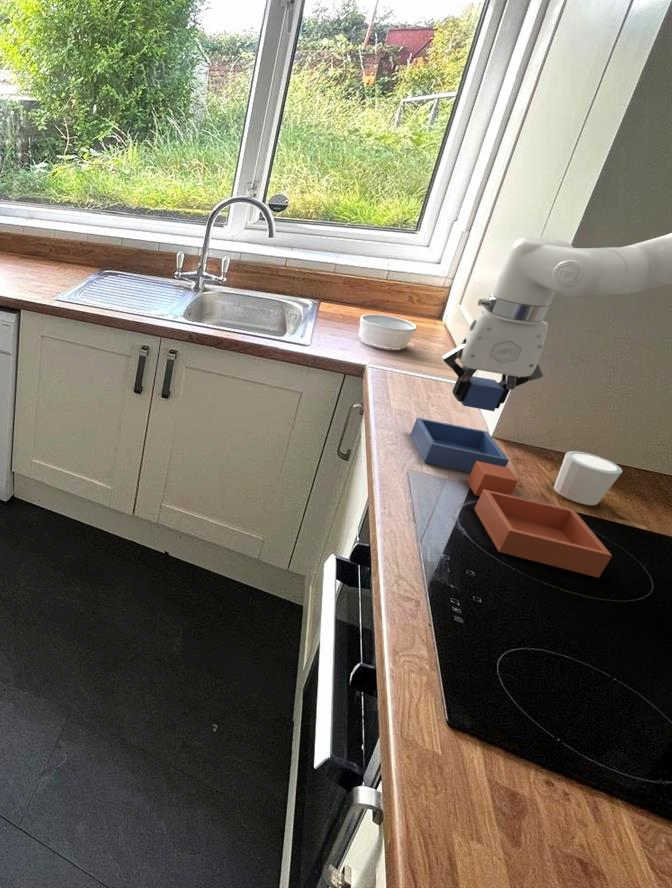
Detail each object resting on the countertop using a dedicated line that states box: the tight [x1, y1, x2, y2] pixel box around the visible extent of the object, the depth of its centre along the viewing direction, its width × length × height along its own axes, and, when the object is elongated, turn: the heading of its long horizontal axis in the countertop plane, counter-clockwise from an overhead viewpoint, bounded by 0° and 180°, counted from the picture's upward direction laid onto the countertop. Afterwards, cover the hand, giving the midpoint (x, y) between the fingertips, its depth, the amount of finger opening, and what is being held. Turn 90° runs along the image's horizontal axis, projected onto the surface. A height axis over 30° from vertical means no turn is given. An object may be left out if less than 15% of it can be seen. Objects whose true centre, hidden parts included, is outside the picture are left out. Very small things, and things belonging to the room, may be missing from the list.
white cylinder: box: [553, 450, 624, 506], centre depth 101 cm, size 7×7×7 cm
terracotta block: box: [466, 461, 519, 497], centre depth 101 cm, size 4×4×4 cm
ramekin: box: [358, 313, 417, 351], centre depth 167 cm, size 13×13×7 cm
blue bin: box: [409, 417, 510, 474], centre depth 112 cm, size 11×11×4 cm
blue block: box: [460, 375, 504, 412], centre depth 107 cm, size 4×4×4 cm
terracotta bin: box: [473, 490, 613, 579], centre depth 89 cm, size 11×11×4 cm
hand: (475, 401), depth 108 cm, fingers closed on blue block, 4 cm apart
